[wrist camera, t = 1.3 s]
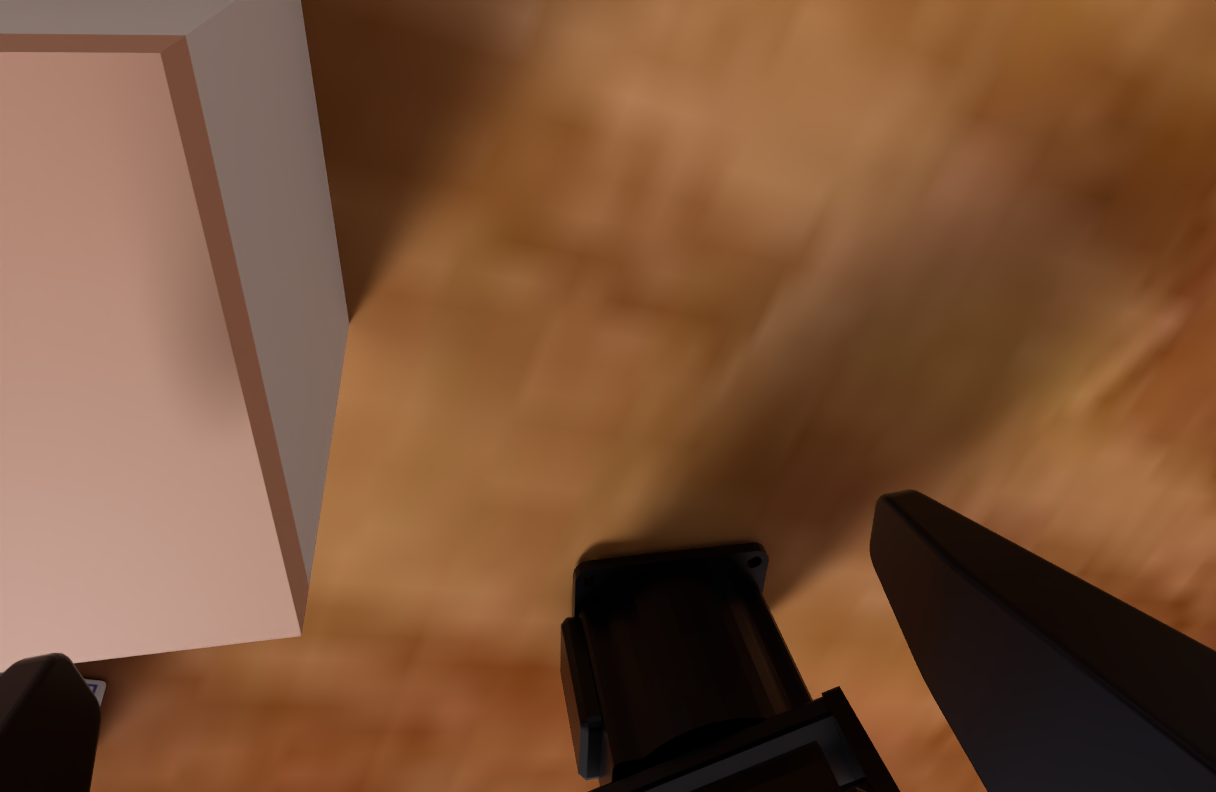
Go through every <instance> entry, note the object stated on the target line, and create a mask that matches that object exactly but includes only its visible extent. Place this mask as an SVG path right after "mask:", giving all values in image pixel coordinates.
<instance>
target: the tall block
mask: <svg viewBox="0 0 1216 792" xmlns="http://www.w3.org/2000/svg"><path fill="white" fill-rule="evenodd" d="M348 329H349V319H348V312H347V305H346V299H345V292H344V285H343V279H342V272H341V265H340V259H339V252H338V245H337V239H336V232H335V225H334V219H333V212H332V205H331V199H330V192H329V185H328V179H327V172H326V165H325V159H324V152H323V145H322V139H321V132H320V125H319V119H318V112H317V105H316V99H315V92H314V85H313V79H312V72H311V65H310V58H309V52H308V45H307V38H306V32H305V25H304V18H303V12H302V5H301V0H0V672H4V671H5V670H6V669H8V668H9V667H10V666H11V665H12V664H14V663H15V662H17V661H19V660H22V659H24V658H30V657H35V656H40V655H45V654H50V653H62V654H65V655H66V656H68V657H69V658H70V659H71V660H72V662H73V663H80V662H88V661H97V660H105V659H113V658H121V657H130V656H138V655H146V654H155V653H163V652H171V651H179V650H188V649H196V648H204V647H212V646H221V645H229V644H237V643H246V642H254V641H262V640H270V639H279V638H287V637H295V636H302V629H303V622H304V616H305V609H306V603H307V596H308V590H309V583H310V577H311V570H312V564H313V557H314V551H315V544H316V538H317V531H318V525H319V518H320V511H321V505H322V498H323V492H324V485H325V479H326V472H327V466H328V459H329V453H330V446H331V440H332V433H333V427H334V420H335V414H336V407H337V400H338V394H339V387H340V381H341V374H342V368H343V361H344V355H345V348H346V342H347V335H348Z"/></svg>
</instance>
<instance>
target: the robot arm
mask: <svg viewBox="0 0 1216 792" xmlns="http://www.w3.org/2000/svg"><path fill="white" fill-rule="evenodd" d="M870 556H871V560H872V563H873V566H874V568H875V571H876V573H877V575H878V578H879V580H880V582H881V584H882V587H883V589H884V591H885V594H886V596H887V598H888V600H889V603H890V605H891V607H892V609H893V612H894V614H895V616H896V619H897V621H898V623H899V625H900V628H901V630H902V632H903V635H904V637H905V639H906V641H907V644H908V646H909V648H910V651H911V653H912V655H913V657H914V660H915V662H916V664H917V666H918V668H919V670H920V672H921V675H922V677H923V679H924V681H925V682H926V684H927V686H928V688H929V690H930V692H931V694H932V695H933V697H934V699H935V701H936V702H937V704H938V706H939V708H940V709H941V711H942V713H943V715H944V716H945V718H946V720H947V722H948V723H949V725H950V727H951V729H952V730H953V732H954V734H955V736H956V737H957V739H958V741H959V743H960V744H961V746H962V748H963V749H964V751H965V753H966V755H967V756H968V758H969V760H970V762H971V763H972V765H973V767H974V769H975V770H976V772H977V774H978V776H979V777H980V779H981V781H982V783H983V784H984V786H985V788H986V789H987V791H988V792H1216V651H1214V650H1213V649H1211V648H1209V647H1207V646H1205V645H1203V644H1201V643H1199V642H1198V641H1196V640H1194V639H1192V638H1190V637H1188V636H1186V635H1185V634H1183V633H1181V632H1179V631H1177V630H1175V629H1173V628H1172V627H1170V626H1168V625H1166V624H1164V623H1162V622H1160V621H1159V620H1157V619H1155V618H1153V617H1151V616H1149V615H1147V614H1146V613H1144V612H1142V611H1140V610H1138V609H1136V608H1134V607H1132V606H1131V605H1129V604H1127V603H1125V602H1123V601H1121V600H1119V599H1118V598H1116V597H1114V596H1112V595H1110V594H1108V593H1106V592H1105V591H1103V590H1101V589H1099V588H1097V587H1095V586H1093V585H1092V584H1090V583H1088V582H1086V581H1084V580H1082V579H1080V578H1079V577H1077V576H1075V575H1073V574H1071V573H1069V572H1067V571H1065V570H1064V569H1062V568H1060V567H1058V566H1056V565H1054V564H1052V563H1051V562H1049V561H1047V560H1045V559H1043V558H1041V557H1039V556H1038V555H1036V554H1034V553H1032V552H1030V551H1028V550H1026V549H1025V548H1023V547H1021V546H1019V545H1017V544H1015V543H1013V542H1012V541H1010V540H1008V539H1006V538H1004V537H1002V536H1000V535H998V534H997V533H995V532H993V531H991V530H989V529H987V528H985V527H984V526H982V525H980V524H978V523H976V522H974V521H972V520H971V519H969V518H967V517H965V516H963V515H961V514H959V513H958V512H956V511H954V510H952V509H950V508H948V507H946V506H945V505H943V504H941V503H939V502H937V501H935V500H933V499H931V498H930V497H928V496H926V495H924V494H922V493H920V492H918V491H915V490H903V491H898V492H893V493H888V494H884V495H882V496H880V497H879V499H878V500H877V502H876V506H875V513H874V519H873V526H872V532H871V539H870ZM752 557H754V558H752ZM750 558H752V559H750ZM768 561H769V558H768V555H767V553H766V551H765V549H764V547H763V546H762V545H761V544H759V543H745V544H736V545H727V546H718V547H709V548H700V549H691V550H682V551H673V552H664V553H655V554H646V555H637V556H628V557H619V558H610V559H601V560H592V561H586V562H583V563H581V564H579V565H578V566H577V567H576V568H575V569H574V573H573V606H572V617H569V618H566V619H565V620H564V622H563V623H562V624H561V668H560V671H561V678H562V684H563V689H564V695H565V701H566V706H567V712H568V717H569V723H570V729H571V734H572V740H573V746H574V751H575V757H576V763H577V768H578V773H579V775H581V776H582V777H583V778H584V779H585V780H590V779H597V778H599V783H600V787H598V788H596V789H593V790H591V791H588V792H900V790H899V789H898V787H897V785H896V783H895V782H894V780H893V778H892V776H891V775H890V773H889V771H888V770H887V768H886V766H885V764H884V763H883V761H882V759H881V757H880V756H879V754H878V752H877V750H876V749H875V747H874V745H873V744H872V742H871V740H870V738H869V737H868V735H867V733H866V731H865V730H864V728H863V726H862V725H861V723H860V721H859V719H858V718H857V716H856V714H855V712H854V711H853V709H852V707H851V706H850V704H849V702H848V700H847V699H846V697H845V695H844V693H843V692H842V690H841V688H840V687H839V686H838V687H835V688H833V689H831V690H828V691H826V692H823V693H822V697H820V698H817V699H815V700H812V698H811V695H810V693H809V691H808V689H807V687H806V685H805V683H804V681H803V679H802V677H801V674H800V672H799V670H798V668H797V666H796V664H795V662H794V660H793V658H792V656H791V654H790V651H789V649H788V647H787V645H786V643H785V641H784V639H783V637H782V635H781V633H780V630H779V628H778V626H777V624H776V622H775V620H774V618H773V616H772V614H771V612H770V609H769V607H768V605H767V603H766V601H765V599H764V597H763V595H762V591H763V586H764V581H765V576H766V571H767V566H768ZM590 575H594V576H593V577H590V578H586V577H587V576H590ZM100 724H101V710H100V705H99V702H98V700H97V698H96V696H95V694H94V693H93V691H92V690H91V688H90V687H89V685H88V684H87V683H86V681H85V680H84V678H83V677H82V675H81V674H80V672H79V671H78V669H77V668H76V666H75V665H74V663H73V662H72V660H71V659H70V658H69V657H68V656H66V655H65V654H62V653H50V654H45V655H40V656H35V657H30V658H24V659H22V660H19V661H17V662H15V663H14V664H12V665H11V666H10V667H9V668H8V669H6V670H5V671H4V672H3V673H2V674H1V675H0V792H90V787H91V781H92V775H93V768H94V762H95V756H96V750H97V743H98V737H99V731H100Z"/></svg>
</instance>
